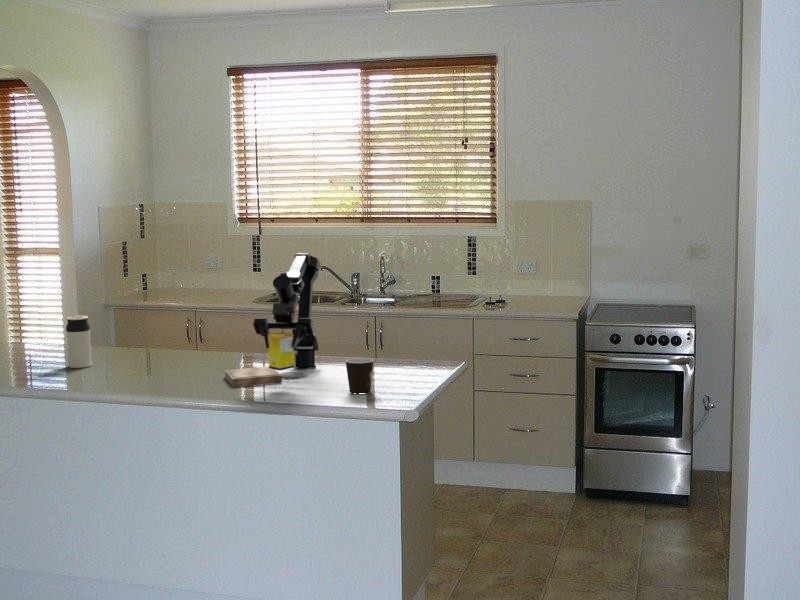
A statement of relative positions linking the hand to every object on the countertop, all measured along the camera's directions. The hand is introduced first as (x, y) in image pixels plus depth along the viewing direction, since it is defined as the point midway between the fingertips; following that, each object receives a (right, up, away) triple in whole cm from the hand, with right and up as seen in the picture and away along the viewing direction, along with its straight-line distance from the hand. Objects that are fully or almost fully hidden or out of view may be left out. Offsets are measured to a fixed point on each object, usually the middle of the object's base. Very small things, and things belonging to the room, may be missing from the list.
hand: (279, 347), depth 300 cm
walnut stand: (-11, -11, +16) cm, 22 cm away
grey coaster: (+1, -11, +21) cm, 24 cm away
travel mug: (-77, -9, +44) cm, 90 cm away
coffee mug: (+26, -14, -3) cm, 30 cm away
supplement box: (0, -7, +2) cm, 7 cm away
